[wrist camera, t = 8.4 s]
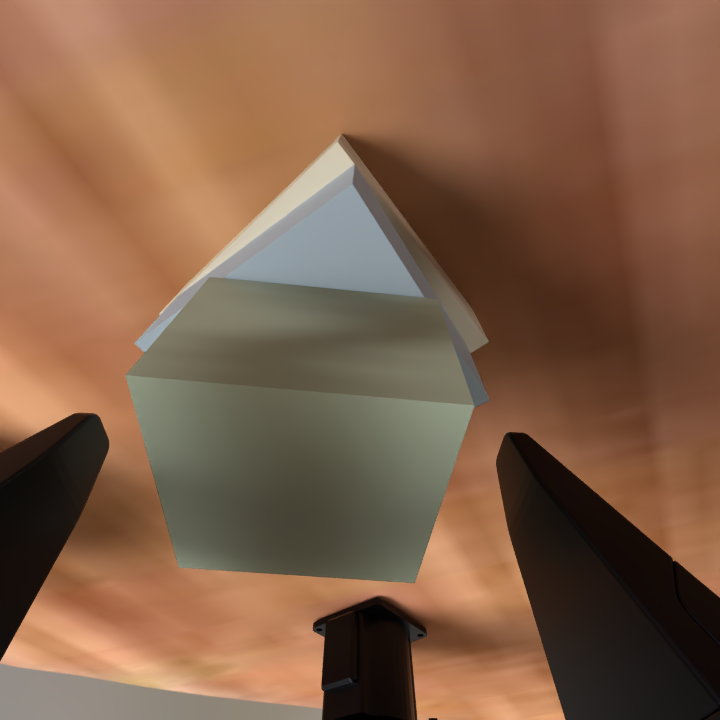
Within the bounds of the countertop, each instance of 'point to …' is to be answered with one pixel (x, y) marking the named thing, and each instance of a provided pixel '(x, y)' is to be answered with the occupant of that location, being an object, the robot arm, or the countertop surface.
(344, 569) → the green block
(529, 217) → the countertop surface
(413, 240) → the birch base block
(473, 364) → the slate blue top block
